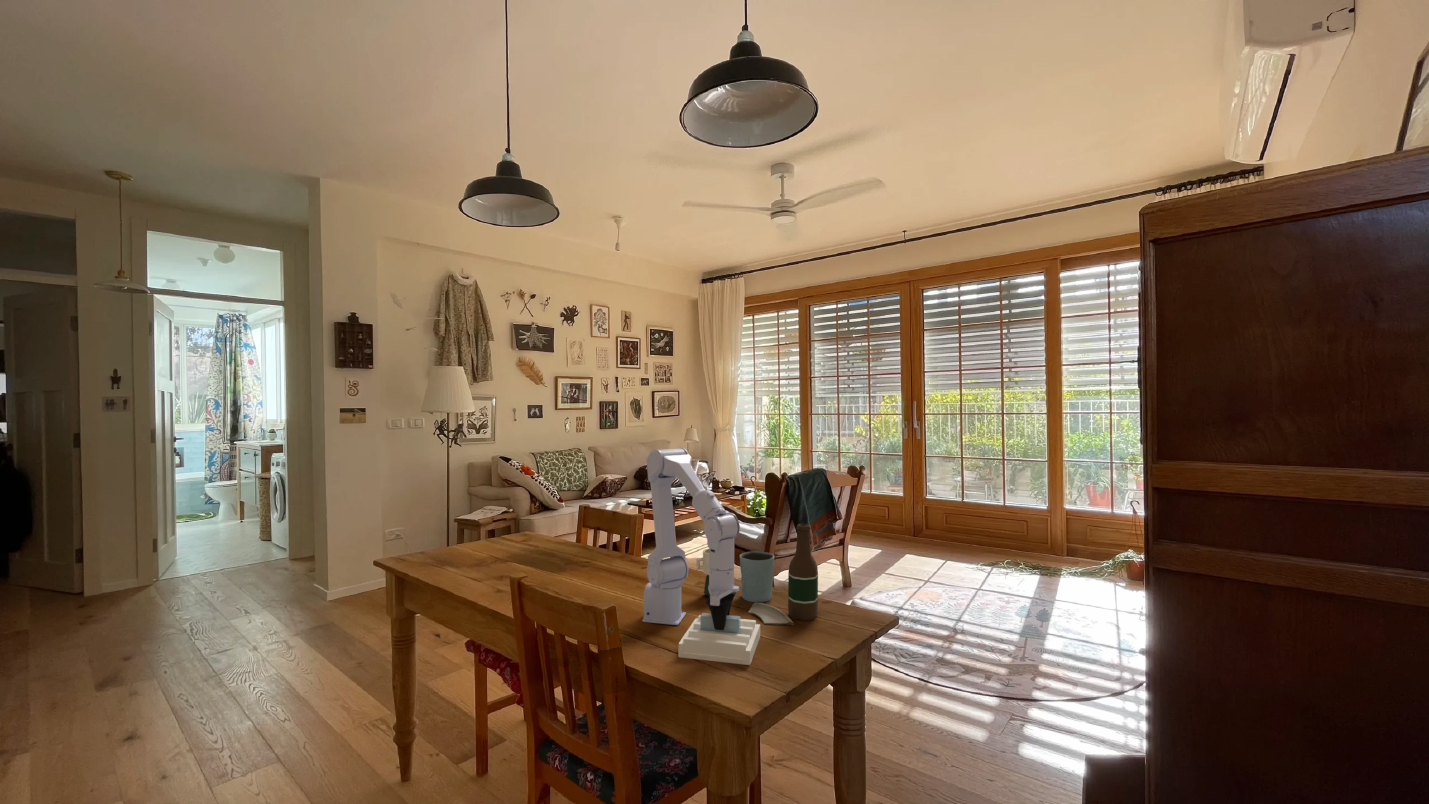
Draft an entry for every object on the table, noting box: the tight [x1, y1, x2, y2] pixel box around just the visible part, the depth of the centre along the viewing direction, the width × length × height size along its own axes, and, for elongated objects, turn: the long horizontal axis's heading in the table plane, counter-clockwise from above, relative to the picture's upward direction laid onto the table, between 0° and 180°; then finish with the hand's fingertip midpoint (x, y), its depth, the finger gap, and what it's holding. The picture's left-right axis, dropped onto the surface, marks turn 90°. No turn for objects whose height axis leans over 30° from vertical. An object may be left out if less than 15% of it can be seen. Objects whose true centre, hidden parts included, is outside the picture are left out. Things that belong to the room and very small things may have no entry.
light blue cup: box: [739, 551, 775, 603], centre depth 165 cm, size 10×10×12 cm
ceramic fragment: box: [747, 602, 795, 626], centre depth 148 cm, size 14×5×4 cm, turn 45°
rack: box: [677, 614, 761, 666], centre depth 131 cm, size 16×15×4 cm
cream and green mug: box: [696, 547, 710, 597], centre depth 166 cm, size 11×7×13 cm, turn 104°
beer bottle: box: [787, 523, 819, 621], centre depth 151 cm, size 8×8×24 cm
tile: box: [700, 612, 742, 634], centre depth 131 cm, size 9×2×6 cm, turn 77°
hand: (721, 626), depth 131 cm, fingers open, 3 cm apart
